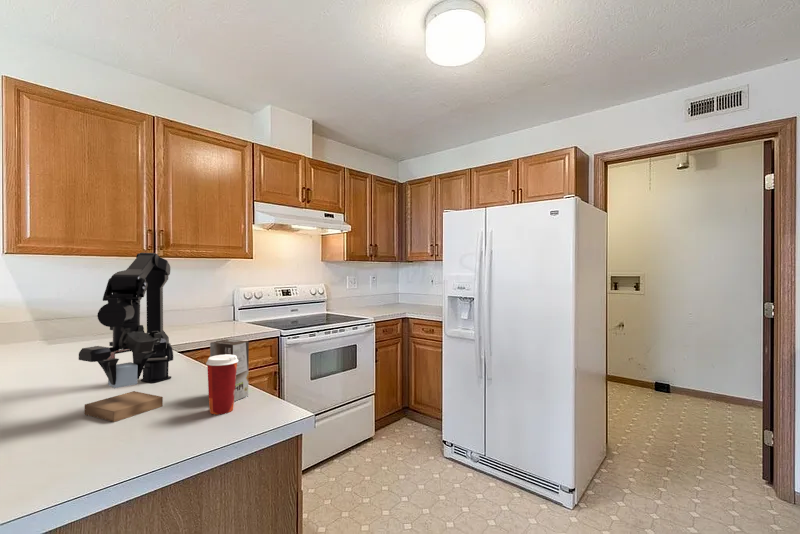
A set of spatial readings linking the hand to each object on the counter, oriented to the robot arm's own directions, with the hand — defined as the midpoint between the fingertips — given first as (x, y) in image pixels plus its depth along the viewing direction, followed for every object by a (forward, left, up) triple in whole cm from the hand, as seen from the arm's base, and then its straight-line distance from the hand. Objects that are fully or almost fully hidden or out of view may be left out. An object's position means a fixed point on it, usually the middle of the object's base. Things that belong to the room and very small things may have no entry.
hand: (125, 381), depth 99 cm
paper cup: (-10, +23, -8) cm, 26 cm away
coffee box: (-19, +16, -8) cm, 26 cm away
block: (0, -2, -1) cm, 2 cm away
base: (0, 0, -7) cm, 7 cm away
